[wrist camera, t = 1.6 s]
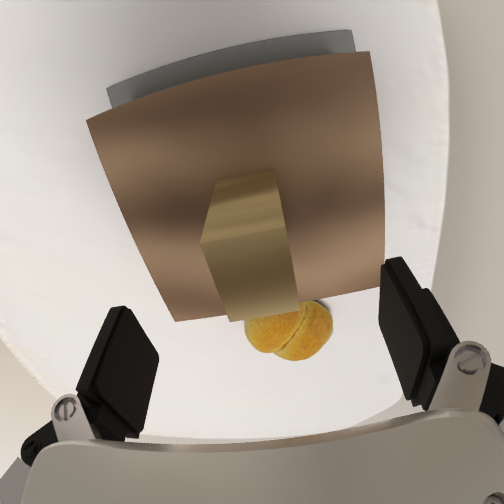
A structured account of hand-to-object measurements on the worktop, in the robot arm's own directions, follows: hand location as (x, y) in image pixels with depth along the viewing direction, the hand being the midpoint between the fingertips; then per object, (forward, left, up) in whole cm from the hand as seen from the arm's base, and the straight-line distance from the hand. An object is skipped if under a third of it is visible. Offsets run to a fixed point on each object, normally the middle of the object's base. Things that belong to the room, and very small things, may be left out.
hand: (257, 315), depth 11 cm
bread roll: (+16, 0, -16) cm, 23 cm away
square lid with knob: (-1, 0, -15) cm, 15 cm away
